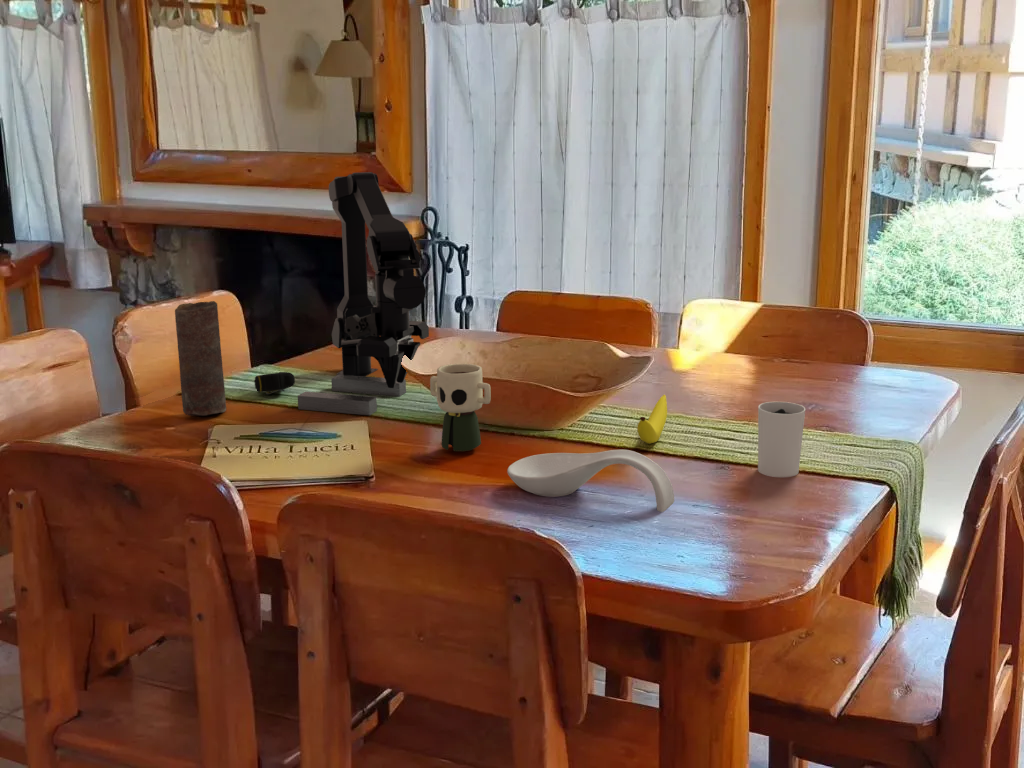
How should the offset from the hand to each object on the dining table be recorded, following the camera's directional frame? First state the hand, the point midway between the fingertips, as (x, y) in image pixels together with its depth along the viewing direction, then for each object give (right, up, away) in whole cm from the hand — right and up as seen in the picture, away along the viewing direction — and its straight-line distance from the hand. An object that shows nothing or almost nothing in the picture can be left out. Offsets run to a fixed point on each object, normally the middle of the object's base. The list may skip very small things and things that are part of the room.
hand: (395, 385), depth 195 cm
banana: (+44, -9, -21) cm, 49 cm away
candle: (-33, -5, -5) cm, 34 cm away
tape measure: (-20, -1, +8) cm, 22 cm away
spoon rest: (+32, -16, -45) cm, 57 cm away
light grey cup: (+60, -13, -37) cm, 72 cm away
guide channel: (-8, -3, +3) cm, 9 cm away
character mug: (+13, -10, -24) cm, 30 cm away
